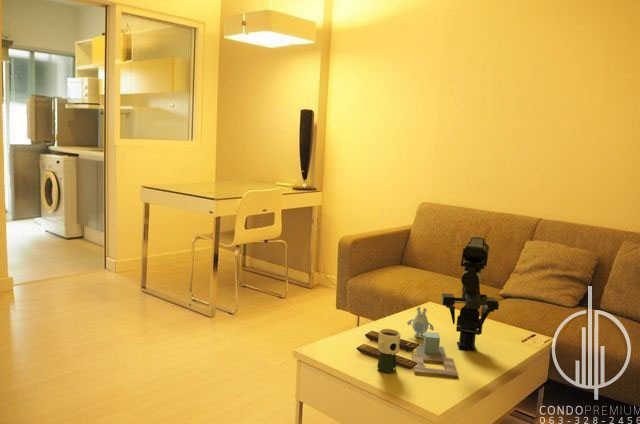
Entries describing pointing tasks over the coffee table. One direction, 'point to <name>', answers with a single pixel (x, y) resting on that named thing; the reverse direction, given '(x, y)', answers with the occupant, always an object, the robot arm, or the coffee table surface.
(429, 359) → the walnut pocket plate
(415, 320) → the toy figure
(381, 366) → the character mug
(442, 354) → the rubber mat
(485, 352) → the coffee table surface
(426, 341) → the slate block
